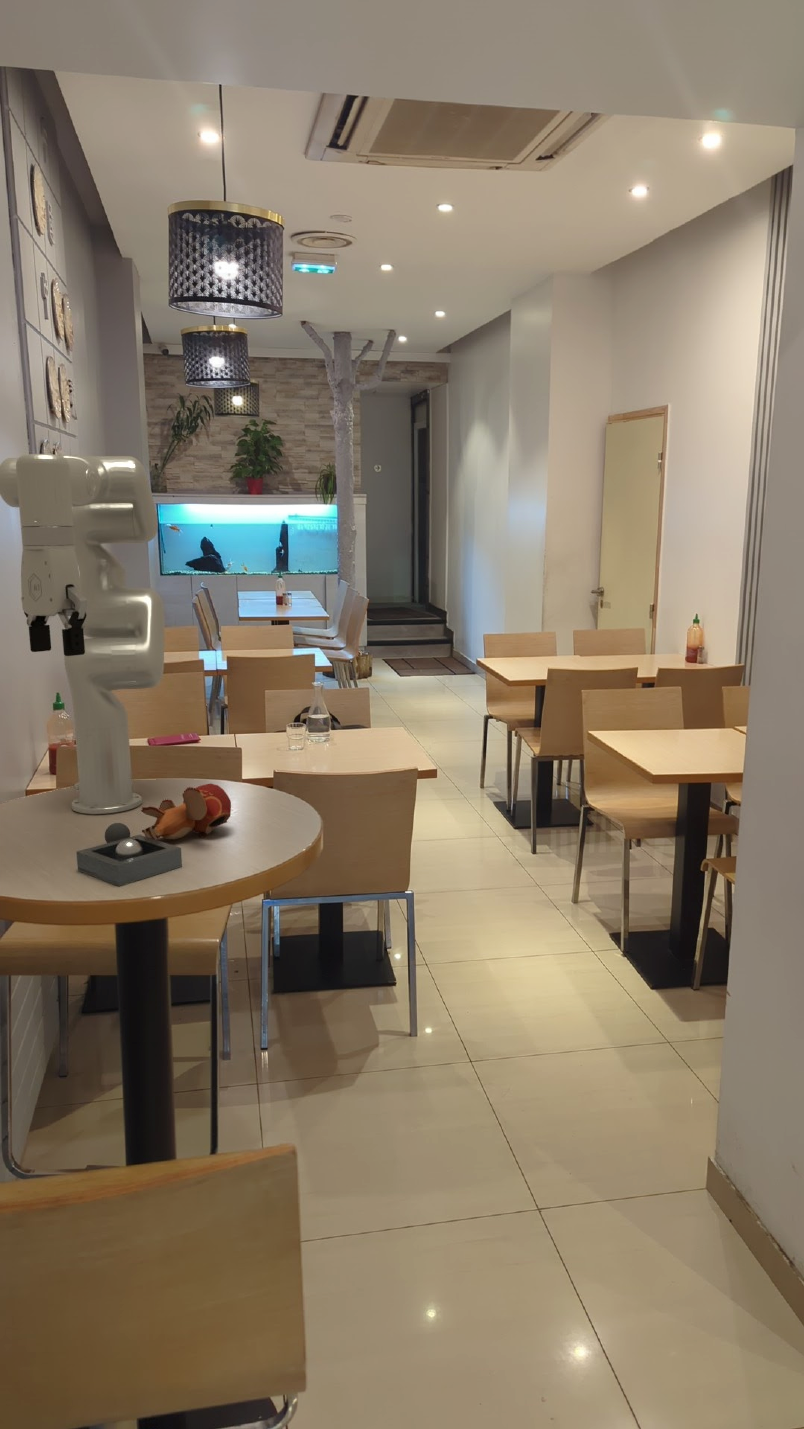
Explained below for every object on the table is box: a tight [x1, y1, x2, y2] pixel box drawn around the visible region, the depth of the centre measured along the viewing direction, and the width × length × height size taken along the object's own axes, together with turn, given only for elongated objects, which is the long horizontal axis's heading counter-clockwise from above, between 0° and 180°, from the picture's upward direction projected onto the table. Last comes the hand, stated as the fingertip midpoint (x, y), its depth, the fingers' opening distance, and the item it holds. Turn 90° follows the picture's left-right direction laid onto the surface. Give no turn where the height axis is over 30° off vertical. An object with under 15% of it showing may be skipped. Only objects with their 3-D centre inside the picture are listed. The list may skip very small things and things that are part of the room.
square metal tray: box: [76, 834, 183, 887], centre depth 147 cm, size 11×11×3 cm
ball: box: [104, 822, 131, 843], centre depth 158 cm, size 4×4×4 cm
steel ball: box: [115, 839, 143, 862], centre depth 147 cm, size 4×4×4 cm
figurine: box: [140, 783, 232, 840], centre depth 163 cm, size 20×9×15 cm
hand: (57, 653), depth 149 cm, fingers open, 9 cm apart
